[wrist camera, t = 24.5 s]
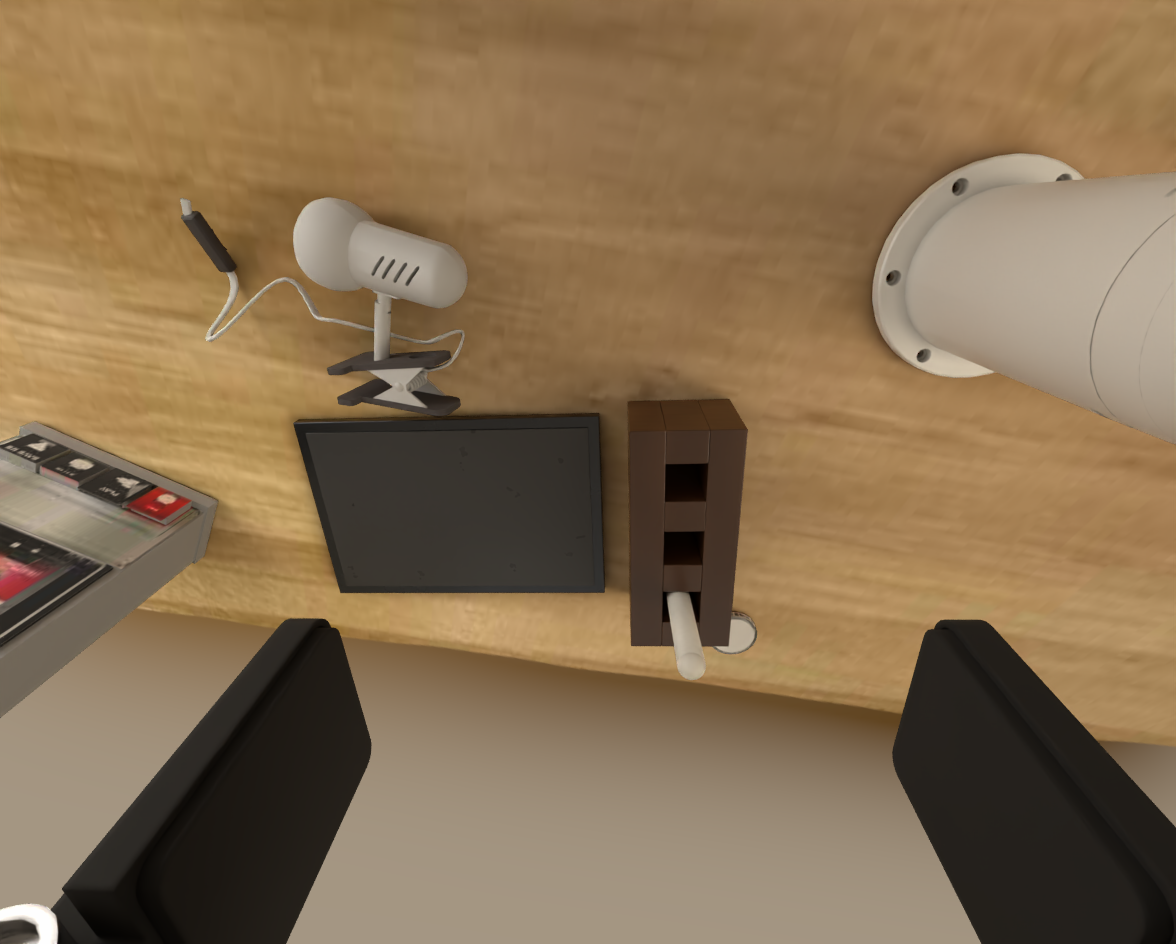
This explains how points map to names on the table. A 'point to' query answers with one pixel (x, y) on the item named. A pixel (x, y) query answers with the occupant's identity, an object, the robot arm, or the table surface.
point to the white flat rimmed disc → (739, 634)
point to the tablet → (459, 502)
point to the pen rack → (683, 514)
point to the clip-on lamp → (375, 261)
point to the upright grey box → (81, 549)
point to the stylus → (685, 636)
